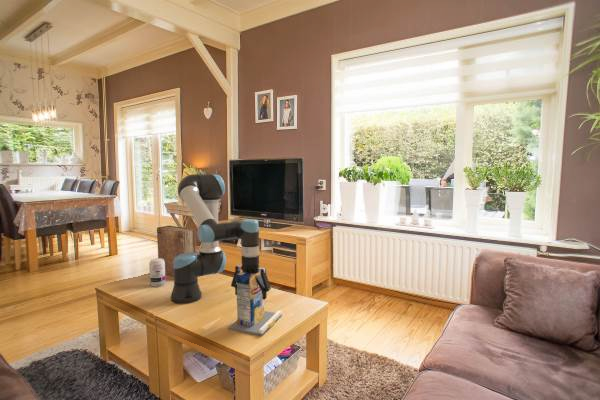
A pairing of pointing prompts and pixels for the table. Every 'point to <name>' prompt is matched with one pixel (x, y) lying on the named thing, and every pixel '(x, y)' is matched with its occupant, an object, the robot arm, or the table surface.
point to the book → (174, 244)
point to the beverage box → (248, 299)
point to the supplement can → (157, 272)
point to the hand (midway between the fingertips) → (250, 304)
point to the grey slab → (258, 324)
